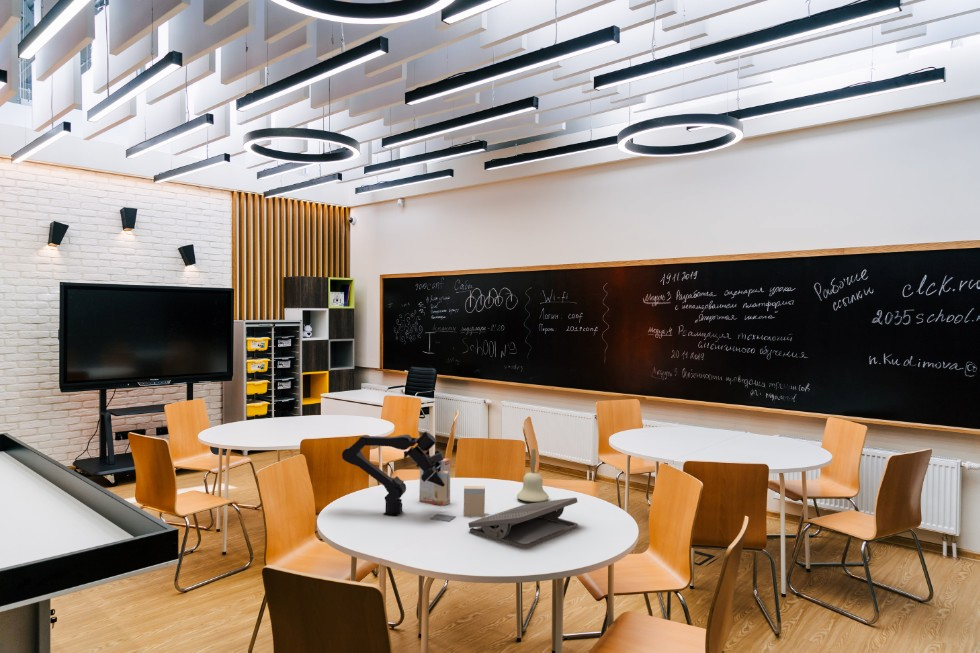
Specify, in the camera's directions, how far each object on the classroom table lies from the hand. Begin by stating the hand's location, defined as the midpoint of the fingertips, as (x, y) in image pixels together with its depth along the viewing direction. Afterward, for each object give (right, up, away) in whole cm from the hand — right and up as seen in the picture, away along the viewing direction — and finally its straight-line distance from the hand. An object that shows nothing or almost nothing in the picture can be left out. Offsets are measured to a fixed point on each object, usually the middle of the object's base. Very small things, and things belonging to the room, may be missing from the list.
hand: (445, 484), depth 274 cm
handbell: (+40, -14, +27) cm, 50 cm away
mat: (-1, -14, -3) cm, 14 cm away
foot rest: (+34, -15, -15) cm, 40 cm away
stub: (-1, -7, 0) cm, 7 cm away
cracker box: (-6, -14, +21) cm, 26 cm away
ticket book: (+13, -14, +3) cm, 19 cm away
